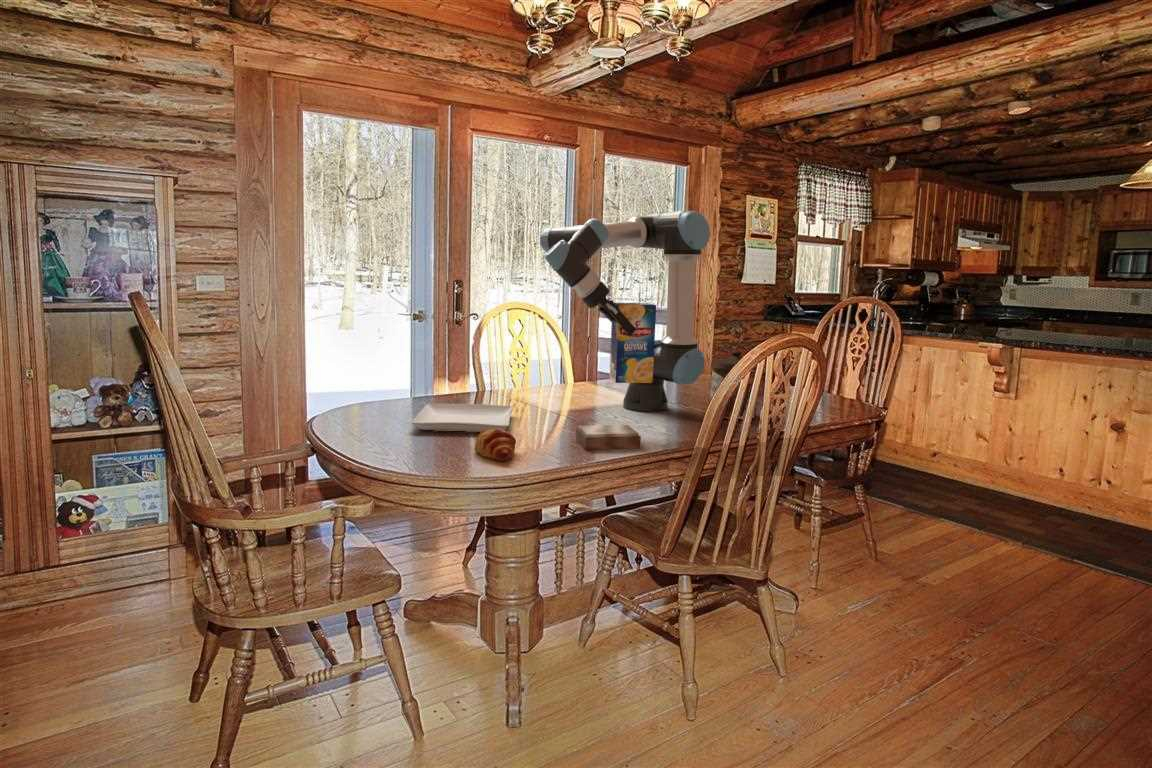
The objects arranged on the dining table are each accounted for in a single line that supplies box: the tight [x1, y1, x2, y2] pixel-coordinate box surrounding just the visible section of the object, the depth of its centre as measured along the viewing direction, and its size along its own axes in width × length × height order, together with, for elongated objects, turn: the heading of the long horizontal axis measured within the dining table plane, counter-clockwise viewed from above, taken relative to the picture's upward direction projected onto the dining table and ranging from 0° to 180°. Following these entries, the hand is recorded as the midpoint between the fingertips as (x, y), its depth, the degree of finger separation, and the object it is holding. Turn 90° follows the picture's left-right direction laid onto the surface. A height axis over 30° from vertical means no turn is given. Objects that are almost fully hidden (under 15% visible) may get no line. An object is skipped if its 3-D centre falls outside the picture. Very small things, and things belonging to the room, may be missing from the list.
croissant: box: [474, 429, 517, 462], centre depth 180 cm, size 21×10×8 cm, turn 22°
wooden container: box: [709, 348, 757, 418], centre depth 233 cm, size 15×15×22 cm
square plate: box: [411, 403, 514, 433], centre depth 212 cm, size 27×27×4 cm
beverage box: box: [609, 302, 657, 384], centre depth 203 cm, size 7×11×22 cm, turn 103°
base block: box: [575, 424, 642, 451], centre depth 193 cm, size 15×11×4 cm
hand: (645, 349), depth 205 cm, fingers closed on beverage box, 2 cm apart
